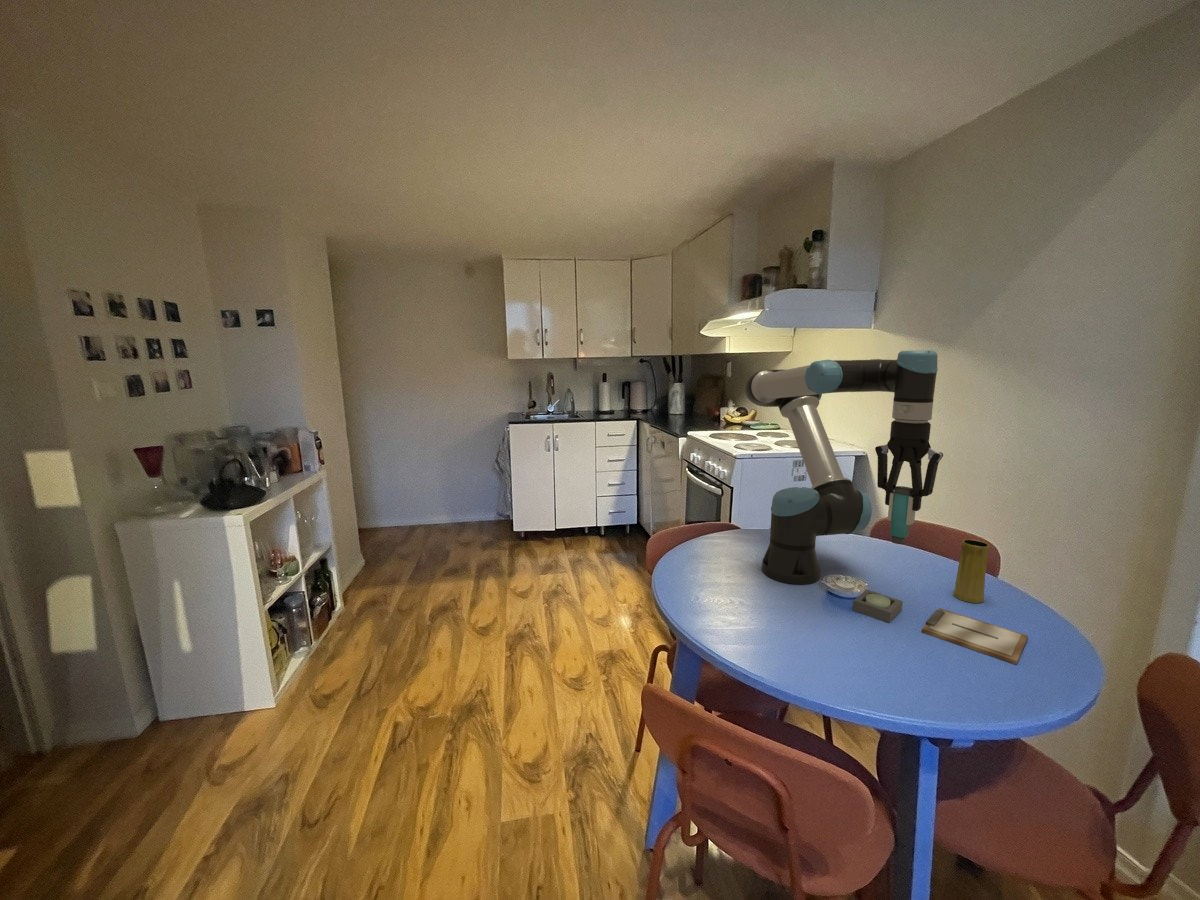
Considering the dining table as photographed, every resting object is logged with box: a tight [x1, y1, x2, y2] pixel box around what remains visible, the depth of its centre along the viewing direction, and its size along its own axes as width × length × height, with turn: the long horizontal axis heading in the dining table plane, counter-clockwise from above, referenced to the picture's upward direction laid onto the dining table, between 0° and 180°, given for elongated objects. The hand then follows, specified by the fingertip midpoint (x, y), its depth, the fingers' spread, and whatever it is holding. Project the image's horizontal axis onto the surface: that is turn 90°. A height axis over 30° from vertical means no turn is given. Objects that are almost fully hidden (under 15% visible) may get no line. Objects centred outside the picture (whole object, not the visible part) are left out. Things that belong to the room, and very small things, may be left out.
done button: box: [866, 594, 890, 609], centre depth 117 cm, size 5×5×3 cm
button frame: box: [852, 589, 904, 624], centre depth 117 cm, size 8×8×2 cm
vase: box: [952, 538, 990, 604], centre depth 121 cm, size 6×6×14 cm
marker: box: [889, 485, 913, 545], centre depth 114 cm, size 4×4×13 cm
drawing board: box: [921, 607, 1029, 666], centre depth 106 cm, size 16×13×1 cm
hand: (900, 521), depth 115 cm, fingers closed on marker, 3 cm apart
